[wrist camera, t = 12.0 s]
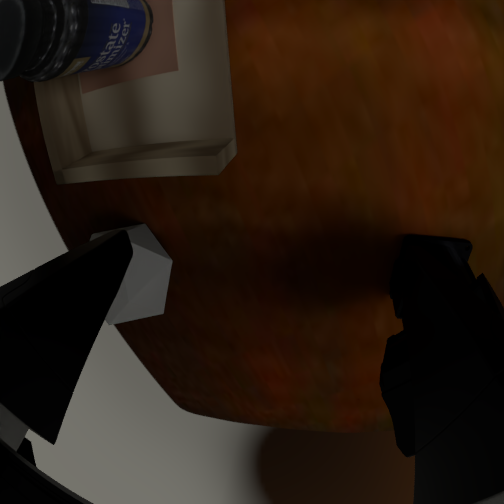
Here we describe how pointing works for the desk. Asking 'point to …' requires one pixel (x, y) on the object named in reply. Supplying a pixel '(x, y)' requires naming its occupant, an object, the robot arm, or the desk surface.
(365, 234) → the desk surface
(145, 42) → the pill bottle
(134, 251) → the grey polyhedron
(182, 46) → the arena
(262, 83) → the desk surface
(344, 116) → the desk surface
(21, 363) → the robot arm
